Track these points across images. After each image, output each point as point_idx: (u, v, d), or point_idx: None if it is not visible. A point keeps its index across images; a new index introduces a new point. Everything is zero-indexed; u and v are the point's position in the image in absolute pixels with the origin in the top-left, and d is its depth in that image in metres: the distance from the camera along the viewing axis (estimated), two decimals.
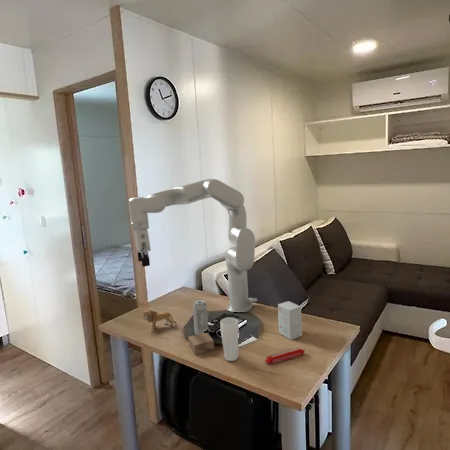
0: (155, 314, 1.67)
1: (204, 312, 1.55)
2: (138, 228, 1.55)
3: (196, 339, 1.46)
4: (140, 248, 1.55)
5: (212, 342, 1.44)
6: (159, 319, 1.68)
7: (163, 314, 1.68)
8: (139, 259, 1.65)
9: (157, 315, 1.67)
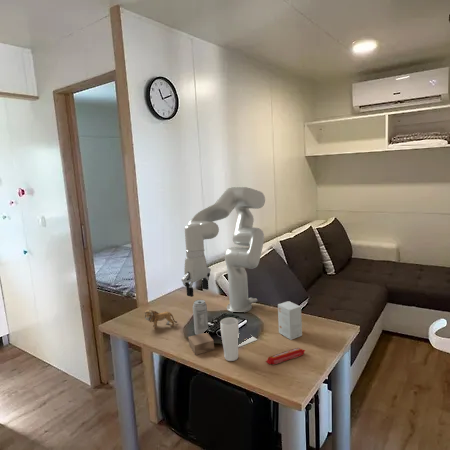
0: (156, 314, 1.67)
1: (204, 312, 1.55)
2: None
3: (196, 339, 1.46)
4: None
5: (212, 342, 1.44)
6: (160, 319, 1.68)
7: (164, 314, 1.68)
8: None
9: (158, 315, 1.67)
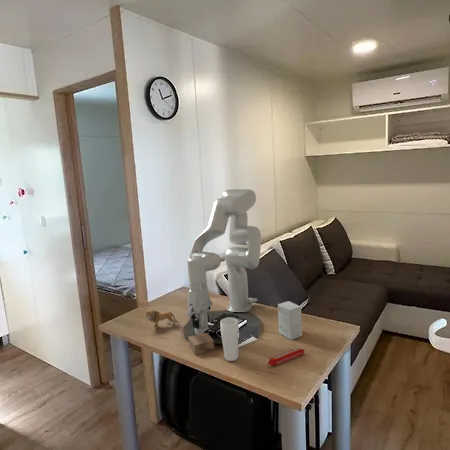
0: (157, 314, 1.68)
1: (205, 312, 1.55)
2: None
3: (196, 339, 1.46)
4: None
5: (212, 342, 1.44)
6: (161, 319, 1.68)
7: (165, 314, 1.68)
8: None
9: (159, 315, 1.67)
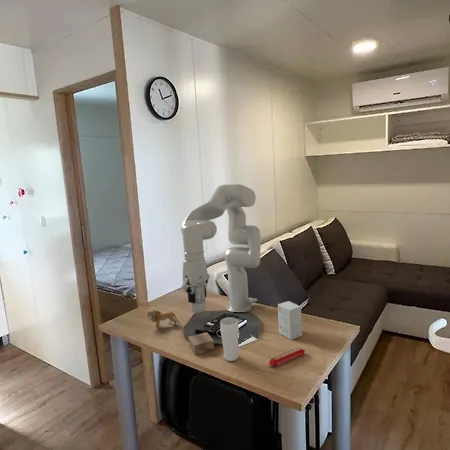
0: (159, 314, 1.68)
1: (201, 285, 1.41)
2: None
3: (196, 339, 1.46)
4: None
5: (212, 342, 1.44)
6: (163, 319, 1.68)
7: (167, 314, 1.68)
8: None
9: (161, 315, 1.68)
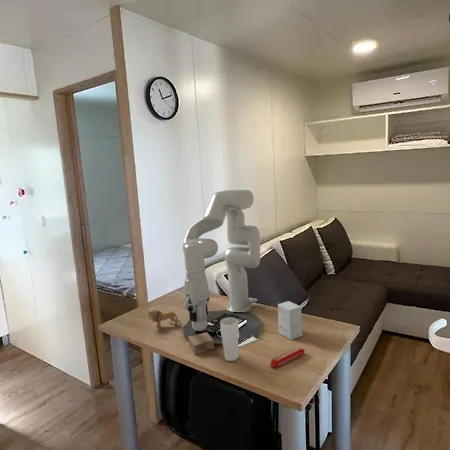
0: (160, 314, 1.68)
1: (203, 303, 1.42)
2: None
3: (196, 339, 1.46)
4: None
5: (212, 342, 1.44)
6: (164, 318, 1.68)
7: (168, 313, 1.68)
8: None
9: (162, 314, 1.68)
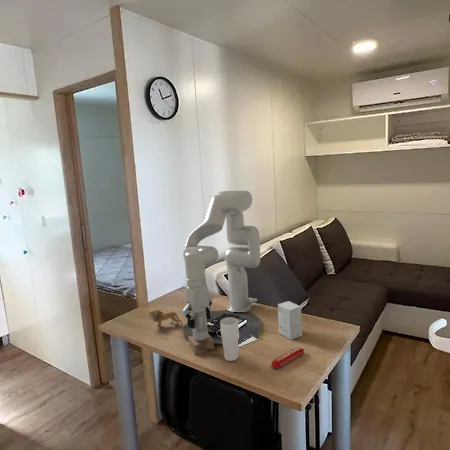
0: (161, 313, 1.68)
1: (203, 314, 1.43)
2: None
3: None
4: None
5: (212, 342, 1.44)
6: (165, 318, 1.68)
7: (169, 313, 1.68)
8: None
9: (163, 314, 1.68)
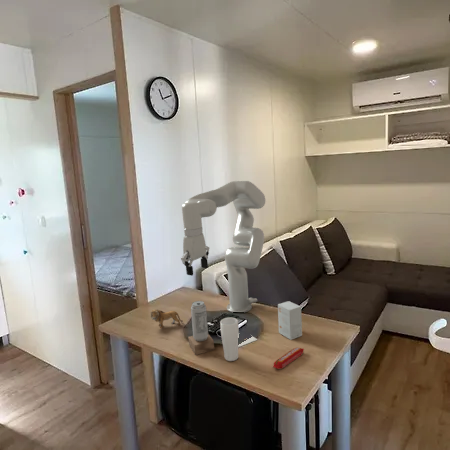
0: (162, 313, 1.68)
1: (204, 314, 1.43)
2: None
3: None
4: None
5: (212, 342, 1.44)
6: (166, 318, 1.68)
7: (170, 313, 1.68)
8: None
9: (164, 314, 1.68)
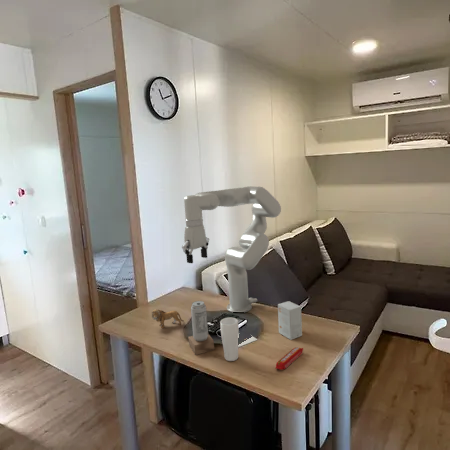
0: (163, 313, 1.68)
1: (204, 314, 1.43)
2: None
3: None
4: None
5: (212, 342, 1.44)
6: (167, 318, 1.68)
7: (171, 313, 1.68)
8: None
9: (165, 314, 1.68)
